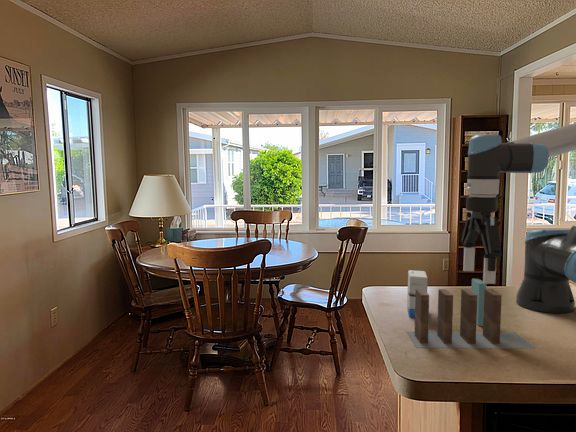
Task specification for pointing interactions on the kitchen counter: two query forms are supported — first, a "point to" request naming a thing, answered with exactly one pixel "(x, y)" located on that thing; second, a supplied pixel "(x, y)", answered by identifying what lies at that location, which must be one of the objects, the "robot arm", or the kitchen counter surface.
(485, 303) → the tile
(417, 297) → the tile
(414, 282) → the ink box
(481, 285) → the teal tile
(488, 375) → the kitchen counter surface
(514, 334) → the mat
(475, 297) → the tile
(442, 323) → the tile
